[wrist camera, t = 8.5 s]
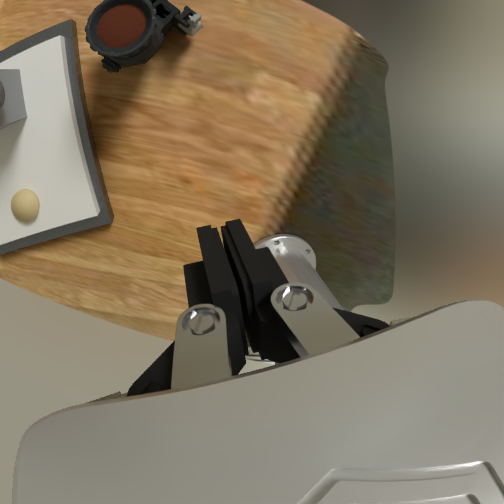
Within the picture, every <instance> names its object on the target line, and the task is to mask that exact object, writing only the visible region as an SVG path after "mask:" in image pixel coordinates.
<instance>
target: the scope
mask: <svg viewBox="0 0 504 504" xmlns="http://www.w3.org/2000/svg"><path fill="white" fill-rule="evenodd" d="M180 13H181V12H180V10H179V9H178V8H176V7H175V6H174V5H172V4H171V3H170V2H168V1H167V0H104V1H103V2H102V3H101V4H99V5H98V6H97V7H96V8H95V9H94V11H93V12H92V14H91V15H90V16H89V18H88V22H87V26H86V27H85V32H86V40H87V42H88V43H89V44H90V48H91V49H92V50H93V51H95V52H96V51H97V52H98V54H99V55H101V56H104V59H102V63H103V64H102V67H103V68H104V69H107V71H108V72H110V73H112V72H119V69H121V66H123V67H125V66H132V65H138V64H144V63H146V62H147V61H148V60H149V59H150V58H151V57H152V56H153V55H154V54H155V53H156V52H157V51H158V50H159V48H160V47H161V43H162V42H163V36H164V35H165V34H166V33H167V32H168V31H169V30H170V29H171V28H172V26H173V25H174V27H176V28H177V29H178V30H179V31H181V32H182V33H183V34H185V35H186V34H187V33H188V34H189V35H191V36H193V35H194V34H196V33H197V32H198V31H199V30H200V29H201V28H202V27H203V26H202V24H201V23H200V22H199V21H200V20H201V17H202V16H201V15H200V14H196V13H195V12H194V11H193V10H191V9H190V8H189V7H188V6H185V7H184V11H183V12H182V13H181V14H180ZM160 15H164V16H165V17H166V18H165V19H162V18H161V17H160ZM120 65H121V66H120Z"/></svg>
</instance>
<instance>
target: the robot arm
mask: <svg viewBox="0 0 504 504" xmlns="http://www.w3.org/2000/svg"><path fill="white" fill-rule="evenodd" d="M221 232H222V238H223V244H224V247H223V244H222V241H221V238H220V236H219V233H218V230H217V227H216V228H211V225H208V226H203V227H198V228H197V233H198V238H199V243H200V248H201V252H202V257H203V261H200V262H195V263H191V264H186V265H183V266H184V275H185V283H186V290H187V297H188V304H189V308H188V309H186V310H185V311H184V312H182V314H181V315H180V316H179V318H178V321H177V325H176V335H175V341H174V342H173V343H172V344H171V345H170V346H169V347H168V348H167V349H166V350H165V351H164V352H163V353H162V354H161V356H159V358H157V360H156V361H155V362H154V363H153V364H152V365H151V366H150V367H149V368H148V369H147V370H146V371H145V372H144V373H143V374H142V375H141V376H140V377H139V378H138V379H137V380H136V381H135V382H134V383H133V385H132V386H131V387H130V389H129V391H128V392H127V393H125V394H121V393H120V392H117V393H114V394H111V395H108V396H105V397H102V398H99V399H96V400H93V401H90V402H87V403H84V404H81V405H76V406H71V407H68V408H65V409H62V410H59V411H56V412H54V413H51V414H49V415H47V416H45V417H43V418H41V419H39V420H38V421H36V422H35V423H34V424H32V425H31V426H30V427H29V428H28V429H27V430H26V431H25V433H24V435H23V437H22V439H21V442H20V444H19V448H18V451H17V456H16V461H15V467H14V475H13V488H12V504H504V308H502V307H501V306H499V305H498V304H496V303H494V302H491V301H487V300H465V301H460V302H455V303H451V304H448V305H444V306H441V307H438V308H436V309H434V310H431V311H428V312H425V313H423V314H420V315H418V316H415V317H409V318H403V319H398V320H392V321H391V322H390V324H387V323H385V322H383V321H381V320H378V319H374V318H371V317H367V316H363V315H359V314H355V313H352V312H348V311H344V310H343V308H342V307H341V305H340V304H339V303H338V301H337V300H336V298H335V297H334V296H333V294H332V293H331V291H330V290H329V289H328V287H327V286H326V285H325V283H324V282H323V280H322V279H321V278H320V276H319V275H318V274H317V272H316V271H315V269H316V257H315V254H314V251H313V250H312V248H311V247H310V246H309V244H308V243H307V242H306V241H304V240H303V239H302V238H300V237H297V236H295V235H290V234H278V235H272V236H269V237H267V238H264V239H262V240H260V241H258V242H257V243H256V244H254V245H253V243H252V241H251V239H250V237H249V235H248V233H247V231H246V229H245V228H244V226H243V224H242V222H241V220H240V219H237V220H232V221H227V222H226V226H221ZM245 331H246V334H247V337H248V340H249V343H250V346H251V348H252V351H253V353H256V352H259V354H260V357H261V360H264V359H268V360H271V361H274V362H275V365H273V366H270V367H266V368H263V369H259V370H255V371H251V372H247V373H243V374H240V375H238V373H239V372H240V370H241V369H242V368H243V366H244V365H245V364H246V359H245V355H248V354H249V352H248V346H247V340H246V334H245Z"/></svg>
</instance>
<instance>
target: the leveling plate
mask: <svg viewBox="0 0 504 504" xmlns="http://www.w3.org/2000/svg"><path fill="white" fill-rule="evenodd" d="M99 212H100V209H99V206H98V202H97V199H96V196H95V192H94V189H93V185H92V182H91V178H90V174H89V171H88V167H87V163H86V159H85V155H84V151H83V147H82V142H81V138H80V133H79V129H78V124H77V119H76V114H75V109H74V104H73V98H72V92H71V86H70V80H69V73H68V65H67V58H66V49H65V39H64V37H63V36H61V35H59V36H57V37H54V38H52V39H49V40H47V41H45V42H42V43H40V44H38V45H36V46H33V47H31V48H29V49H27V50H25V51H23V52H21V53H19V54H17V55H15V56H13V57H11V58H9V59H7V60H5V61H3V62H1V63H0V245H2V244H5V243H8V242H11V241H14V240H17V239H20V238H23V237H26V236H29V235H32V234H35V233H39V232H42V231H45V230H48V229H52V228H55V227H58V226H62V225H65V224H69V223H72V222H76V221H79V220H83V219H87V218H90V217H94V216H98V214H99Z"/></svg>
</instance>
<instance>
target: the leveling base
mask: <svg viewBox="0 0 504 504" xmlns="http://www.w3.org/2000/svg"><path fill="white" fill-rule="evenodd" d="M59 35H61V36H63V37H64V39H65V49H66V58H67V65H68V73H69V80H70V86H71V92H72V98H73V104H74V109H75V114H76V119H77V124H78V129H79V133H80V138H81V142H82V147H83V151H84V155H85V159H86V163H87V167H88V171H89V174H90V178H91V182H92V185H93V189H94V192H95V196H96V199H97V202H98V206H99V209H100V212H99V214H98V216H94V217H90V218H87V219H83V220H79V221H76V222H72V223H69V224H65V225H62V226H58V227H55V228H52V229H48V230H45V231H42V232H39V233H35V234H32V235H29V236H26V237H23V238H20V239H17V240H14V241H11V242H8V243H5V244H2V245H0V255H2V254H5V253H8V252H11V251H14V250H17V249H21V248H24V247H27V246H31V245H34V244H37V243H41V242H44V241H47V240H51V239H54V238H58V237H61V236H65V235H69V234H72V233H76V232H79V231H83V230H87V229H91V228H95V227H98V226H102V225H106V224H110V223H112V221H113V218H114V214H113V211H112V208H111V204H110V201H109V197H108V194H107V190H106V187H105V183H104V179H103V175H102V172H101V168H100V164H99V160H98V156H97V151H96V147H95V143H94V138H93V134H92V129H91V124H90V119H89V114H88V109H87V103H86V98H85V92H84V86H83V79H82V72H81V65H80V57H79V49H78V40H77V29H76V22H75V21H73V20H72V19H70V20H68V21H65V22H62V23H60V24H57V25H55V26H52V27H50V28H47V29H45V30H43V31H40V32H38V33H36V34H34V35H32V36H30V37H27V38H25V39H23V40H21V41H19V42H17V43H15V44H13V45H11V46H9V47H8V48H6V49H4V50H2V51H0V63H1V62H3V61H5V60H7V59H9V58H11V57H13V56H15V55H17V54H19V53H21V52H23V51H25V50H27V49H29V48H31V47H33V46H36V45H38V44H40V43H42V42H45V41H47V40H49V39H52V38H54V37H57V36H59Z"/></svg>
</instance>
